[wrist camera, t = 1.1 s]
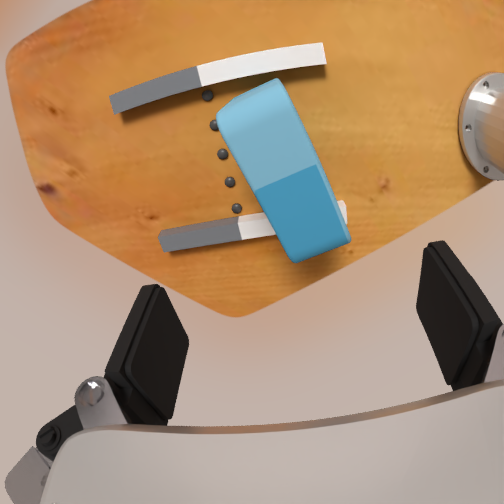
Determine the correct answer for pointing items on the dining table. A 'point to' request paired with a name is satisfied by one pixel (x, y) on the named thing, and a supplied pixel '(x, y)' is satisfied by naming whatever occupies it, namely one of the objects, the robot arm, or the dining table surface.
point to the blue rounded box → (283, 170)
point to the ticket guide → (205, 76)
